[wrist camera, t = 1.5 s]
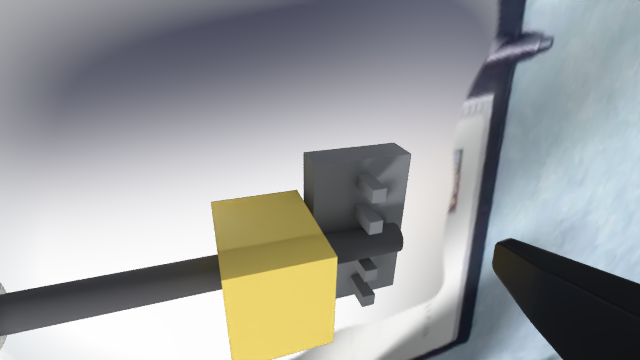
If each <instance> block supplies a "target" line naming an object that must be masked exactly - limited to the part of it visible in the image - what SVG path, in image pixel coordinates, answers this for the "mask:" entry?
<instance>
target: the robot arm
mask: <svg viewBox="0 0 640 360" xmlns="http://www.w3.org/2000/svg"><path fill="white" fill-rule="evenodd" d="M492 267H493V270H494V272H495V273H496V275H497V276H498V278H499V279H500V280H501V282H502V283H503V285H504V286H505V287H506V289H507V290H508V292H509V293H510V294H511V296H512V297H513V299H514V300H515V301H516V303H517V304H518V305H519V307H520V308H521V310H522V311H523V312H524V314H525V315H526V316H527V318H528V319H529V320H530V322H531V323H532V324H533V325H534V326H535V328H536V329H537V330H538V331H539V332H540V333H541V335H542V336H543V337H544V338H545V339H546V340H547V342H548V343H549V344H550V345H551V346H552V347H553V348H554V350H555V351H556V352H557V353H558V354H559V355H560V357H561V358H562V359H563V360H640V284H639V283H636V282H633V281H630V280H628V279H625V278H622V277H619V276H616V275H614V274H611V273H608V272H605V271H602V270H600V269H597V268H594V267H591V266H588V265H586V264H583V263H580V262H577V261H574V260H572V259H569V258H566V257H563V256H560V255H558V254H555V253H552V252H549V251H546V250H544V249H541V248H538V247H535V246H532V245H530V244H527V243H524V242H521V241H519V240H516V239H512V238H509V239H505V240H502V241H500V242H497V244H496V245H495V249H494V255H493V261H492Z"/></svg>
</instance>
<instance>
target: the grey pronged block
mask: <svg viewBox="0 0 640 360" xmlns="http://www.w3.org/2000/svg"><path fill="white" fill-rule="evenodd" d="M410 159H411V154H410V153H409V152H407V151H406V150H404V149H403V148H401V147H400V146H398V145H397V144H395V143H388V144H378V145H369V146H361V147H350V148H341V149H332V150H322V151H313V152H304V203H305V204H306V206H307V208H308V209H309V211H310V213H311V214H312V216H313V217H314V219H315V221H316V222H317V224H318V226H319V227H320V229H321V231H322V232H323V234H324V235H327V234H332V233H337V232H343V231H348V230H354V229H359V228H364V229H365V230H366V232H367V233H368V234H369V235H372V234H377V233H382V228H383V224H386V223H392V222H394V223H396V224H397V225H398V226H399V228H400V229H401V223H402V216H403V209H404V202H405V194H406V187H407V180H408V173H409V166H410ZM396 257H397V252H394V253H389V254H384V255H380V256H375V257H370V258H366V259H361V260H356V261H351V262H347V263H342V264H337V277H336V297H335V299H336V298H340V297H344V296H349V295H353V294H355V295H356V297H357V299H358V301H359V302H360V304H361V306H362V307H364V306H367V305H371V304H374V297H375V294H374V292H373V291H372V290H373V289H377V288H381V287H385V286H389V285H393V279H394V271H395V265H396Z"/></svg>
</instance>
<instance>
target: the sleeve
mask: <svg viewBox="0 0 640 360" xmlns="http://www.w3.org/2000/svg"><path fill="white" fill-rule="evenodd" d="M211 206H212V214H213V221H214V229H215V236H216V244H217V252H218V259H219V267H220V275H221V282H222V290H223V297H224V305H225V312H226V319H227V326H228V334H229V341H230V349H231V356H232V360H271V359H275V358H278V357H282V356H286V355H289V354H293V353H296V352H300V351H303V350H307V349H310V348H314V347H317V346H321V345H324V344H328V343H331V342H333V337H334V316H335V315H334V314H335V297H336V277H337V255H336V254H335V252H334V250H333V249H332V247H331V245H330V244H329V242H328V240H327V239H326V237H325V236H324V234H323V232H322V231H321V229H320V227H319V226H318V224H317V222H316V221H315V219H314V217H313V216H312V214H311V213H310V211H309V209H308V208H307V206H306V204H305V203H304V201H303V199H302V198H301V196H300V194H299V193H298V191H297V190H294V191H287V192H279V193H272V194H266V195H258V196H250V197H243V198H236V199H230V200H222V201H215V202H211Z"/></svg>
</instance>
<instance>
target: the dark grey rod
mask: <svg viewBox="0 0 640 360" xmlns="http://www.w3.org/2000/svg"><path fill="white" fill-rule="evenodd" d="M324 236H325V237H326V239H327V240H328V242H329V244H330V245H331V247H332V249H333V250H334V252H335V254H336V255H337V264H342V263H347V262H351V261H356V260H361V259H366V258H370V257H375V256H380V255H384V254H389V253H394V252H398V251H401V250H402V247H403V236H402V233H401V230H400V228H399V226H398V225H397V224H396V223H394V222H392V223H386V224H383V228H382V233H377V234H372V235H369V234H368V233H367V232H366V230H365V229H364V228H359V229H354V230H348V231H343V232H337V233H332V234H327V235H324ZM220 289H222V282H221V275H220V267H219V259H218V255H213V256H207V257H202V258H196V259H191V260H185V261H180V262H175V263H169V264H163V265H158V266H153V267H147V268H142V269H136V270H131V271H126V272H120V273H115V274H109V275H104V276H99V277H93V278H87V279H82V280H76V281H71V282H66V283H60V284H55V285H50V286H44V287H39V288H33V289H28V290H22V291H17V292H12V293H6V292H5V289H4V287H3V286H2V284H1V283H0V349H1V348H2V346H3V344H4V342H5V339H6V337H7V335H9V334H14V333H18V332H23V331H28V330H33V329H37V328H42V327H47V326H51V325H56V324H61V323H65V322H70V321H75V320H79V319H84V318H89V317H94V316H98V315H103V314H107V313H112V312H117V311H122V310H126V309H131V308H135V307H140V306H145V305H150V304H155V303H159V302H164V301H169V300H173V299H178V298H183V297H187V296H192V295H196V294H201V293H206V292H211V291H216V290H220Z"/></svg>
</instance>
